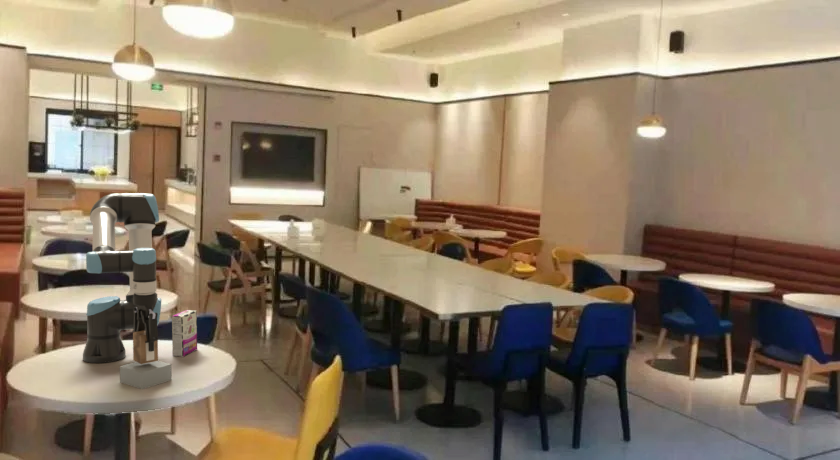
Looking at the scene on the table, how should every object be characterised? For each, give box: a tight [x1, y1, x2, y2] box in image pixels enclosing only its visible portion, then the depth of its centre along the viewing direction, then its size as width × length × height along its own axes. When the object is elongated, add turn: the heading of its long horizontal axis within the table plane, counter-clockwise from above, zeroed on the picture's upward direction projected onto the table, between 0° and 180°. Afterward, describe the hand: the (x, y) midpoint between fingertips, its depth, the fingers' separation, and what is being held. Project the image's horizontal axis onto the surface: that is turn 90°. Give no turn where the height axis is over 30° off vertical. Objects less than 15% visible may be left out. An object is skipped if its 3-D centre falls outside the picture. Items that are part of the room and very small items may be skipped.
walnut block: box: [132, 330, 159, 364], centre depth 241 cm, size 6×6×10 cm
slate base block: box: [119, 360, 172, 390], centre depth 242 cm, size 12×12×6 cm
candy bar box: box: [171, 309, 198, 358], centre depth 277 cm, size 11×5×16 cm, turn 168°
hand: (145, 357), depth 241 cm, fingers closed on walnut block, 6 cm apart
